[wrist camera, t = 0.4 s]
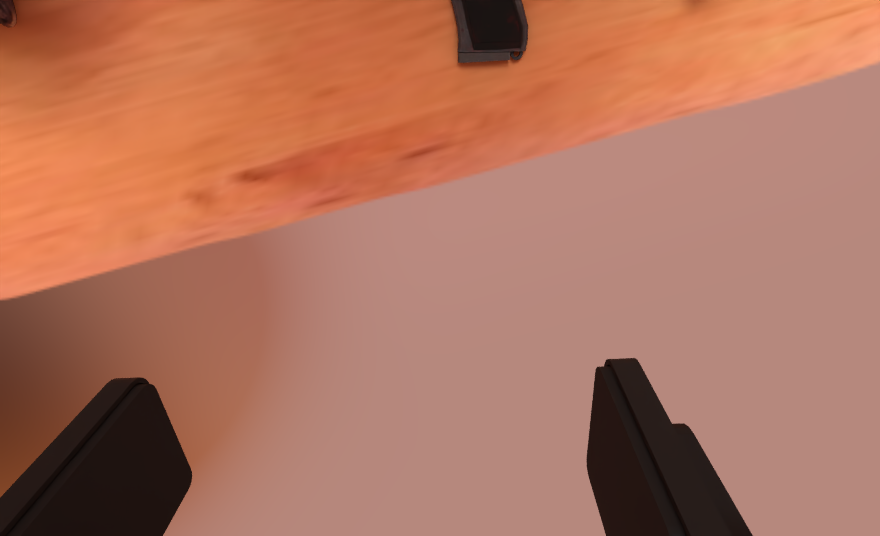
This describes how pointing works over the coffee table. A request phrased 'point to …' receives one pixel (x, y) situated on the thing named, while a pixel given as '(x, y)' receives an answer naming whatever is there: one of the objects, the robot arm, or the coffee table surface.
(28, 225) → the coffee table surface
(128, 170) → the coffee table surface
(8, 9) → the sculpture
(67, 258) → the coffee table surface
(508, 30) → the handgun
